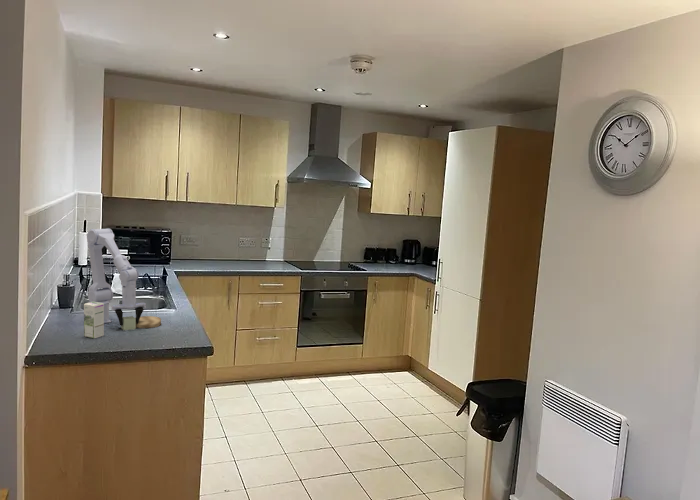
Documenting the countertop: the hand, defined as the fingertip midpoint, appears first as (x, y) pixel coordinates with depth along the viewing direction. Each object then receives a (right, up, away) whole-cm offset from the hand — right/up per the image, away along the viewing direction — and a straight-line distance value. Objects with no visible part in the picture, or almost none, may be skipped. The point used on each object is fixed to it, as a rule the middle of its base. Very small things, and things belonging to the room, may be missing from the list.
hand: (129, 324), depth 245 cm
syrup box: (-9, -3, -15) cm, 18 cm away
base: (+5, -1, +8) cm, 9 cm away
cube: (0, -2, 0) cm, 2 cm away
